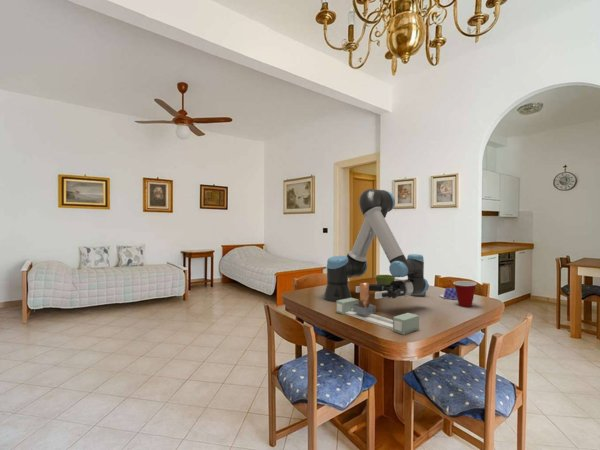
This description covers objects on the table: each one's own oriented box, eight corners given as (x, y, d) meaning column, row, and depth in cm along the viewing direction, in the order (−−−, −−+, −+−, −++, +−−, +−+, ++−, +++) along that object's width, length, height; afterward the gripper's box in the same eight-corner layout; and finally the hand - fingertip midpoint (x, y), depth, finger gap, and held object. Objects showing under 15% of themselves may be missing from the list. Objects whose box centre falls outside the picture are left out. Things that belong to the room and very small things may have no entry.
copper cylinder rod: (353, 311, 139) (353, 282, 139) (363, 308, 143) (363, 281, 143) (365, 315, 134) (365, 285, 134) (375, 312, 138) (375, 283, 138)
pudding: (464, 301, 168) (464, 291, 168) (440, 299, 172) (440, 289, 172) (461, 296, 179) (461, 287, 179) (439, 294, 183) (439, 285, 183)
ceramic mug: (426, 297, 175) (426, 284, 175) (411, 296, 177) (411, 283, 177) (424, 293, 185) (424, 281, 185) (409, 292, 187) (409, 280, 187)
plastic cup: (448, 303, 163) (448, 280, 163) (468, 302, 163) (468, 280, 163) (460, 308, 152) (460, 284, 152) (481, 308, 153) (481, 284, 153)
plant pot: (391, 292, 187) (391, 274, 187) (398, 297, 175) (398, 277, 175) (372, 293, 186) (372, 274, 186) (378, 297, 174) (378, 278, 174)
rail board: (335, 312, 146) (335, 300, 146) (351, 308, 152) (351, 297, 152) (403, 335, 116) (403, 320, 116) (419, 329, 122) (419, 315, 122)
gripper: (421, 301, 136) (384, 307, 127) (383, 290, 159) (349, 295, 150) (421, 284, 136) (384, 289, 127) (383, 276, 159) (349, 279, 149)
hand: (365, 292), depth 138 cm, fingers open, 13 cm apart
